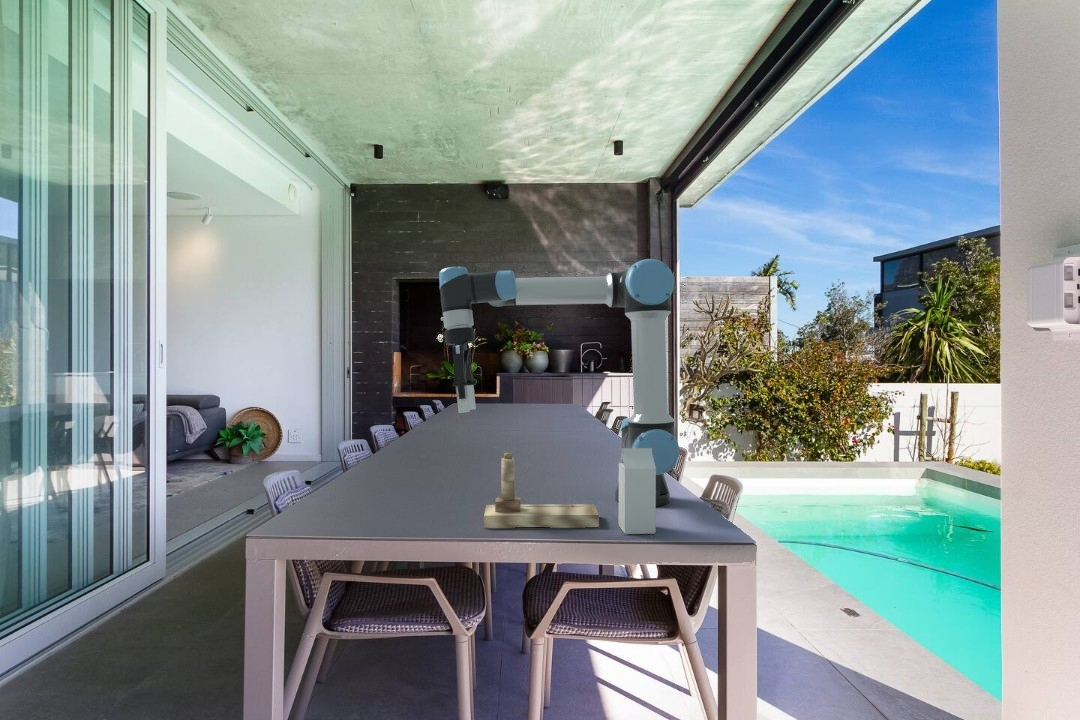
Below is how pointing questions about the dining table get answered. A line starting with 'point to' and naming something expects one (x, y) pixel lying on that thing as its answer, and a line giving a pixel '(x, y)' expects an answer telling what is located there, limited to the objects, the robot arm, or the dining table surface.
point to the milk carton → (637, 491)
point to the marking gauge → (507, 486)
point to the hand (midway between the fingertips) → (467, 411)
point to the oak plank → (544, 516)
